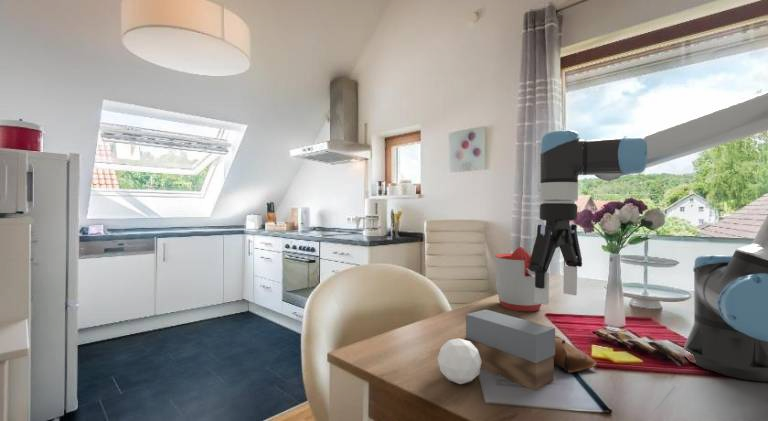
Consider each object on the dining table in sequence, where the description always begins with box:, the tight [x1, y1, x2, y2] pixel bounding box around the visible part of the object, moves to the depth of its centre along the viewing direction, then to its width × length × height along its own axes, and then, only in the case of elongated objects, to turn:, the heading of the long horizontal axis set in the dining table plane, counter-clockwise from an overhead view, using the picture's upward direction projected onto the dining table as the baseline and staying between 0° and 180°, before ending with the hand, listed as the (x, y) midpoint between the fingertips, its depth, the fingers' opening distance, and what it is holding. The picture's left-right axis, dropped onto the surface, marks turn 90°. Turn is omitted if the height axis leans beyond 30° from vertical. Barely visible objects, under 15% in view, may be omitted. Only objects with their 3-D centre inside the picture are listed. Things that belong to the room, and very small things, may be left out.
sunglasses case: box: [554, 334, 598, 374], centre depth 80 cm, size 18×7×7 cm
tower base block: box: [463, 337, 555, 391], centre depth 72 cm, size 16×6×5 cm, turn 39°
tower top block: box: [465, 309, 556, 363], centre depth 73 cm, size 16×6×5 cm, turn 36°
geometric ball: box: [437, 337, 482, 385], centre depth 67 cm, size 8×8×8 cm
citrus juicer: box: [495, 246, 542, 313], centre depth 118 cm, size 16×17×20 cm
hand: (556, 298), depth 80 cm, fingers open, 13 cm apart
